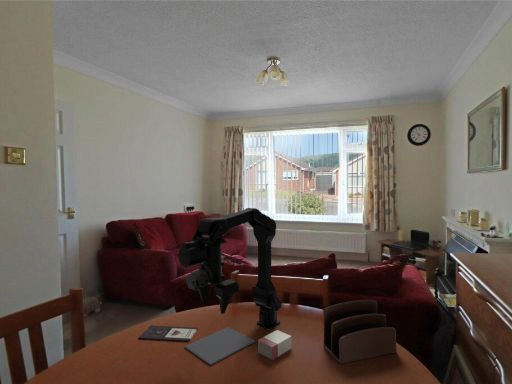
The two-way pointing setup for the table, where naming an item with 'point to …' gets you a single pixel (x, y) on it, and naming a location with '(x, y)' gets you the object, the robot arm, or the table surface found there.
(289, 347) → the card box
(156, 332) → the chocolate bar
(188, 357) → the table surface
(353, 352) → the letter holder
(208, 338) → the mat
